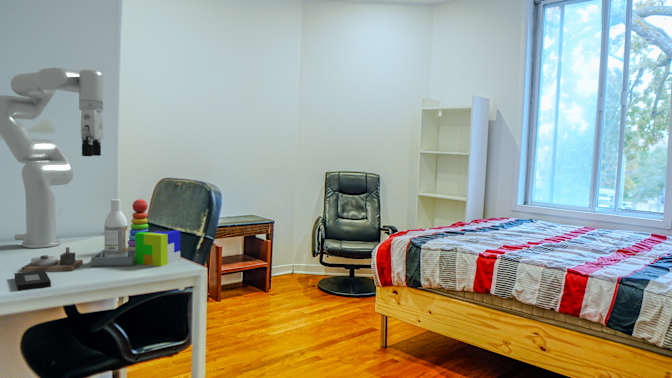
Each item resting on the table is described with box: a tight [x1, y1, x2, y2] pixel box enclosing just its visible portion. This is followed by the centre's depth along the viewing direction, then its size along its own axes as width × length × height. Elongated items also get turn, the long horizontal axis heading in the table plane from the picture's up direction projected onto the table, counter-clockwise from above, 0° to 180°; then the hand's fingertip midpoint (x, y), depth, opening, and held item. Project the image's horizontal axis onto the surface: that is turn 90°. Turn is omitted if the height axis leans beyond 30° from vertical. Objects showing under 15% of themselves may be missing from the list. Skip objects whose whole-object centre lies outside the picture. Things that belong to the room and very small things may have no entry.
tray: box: [90, 249, 136, 268], centre depth 165 cm, size 12×12×3 cm
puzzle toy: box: [135, 228, 181, 267], centre depth 167 cm, size 10×10×10 cm
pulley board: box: [20, 246, 84, 273], centre depth 156 cm, size 14×10×6 cm
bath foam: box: [103, 198, 129, 257], centre depth 165 cm, size 7×7×20 cm
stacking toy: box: [128, 198, 149, 250], centre depth 184 cm, size 8×8×19 cm
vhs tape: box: [13, 270, 52, 292], centre depth 139 cm, size 8×14×2 cm, turn 36°
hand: (91, 155), depth 176 cm, fingers open, 9 cm apart
